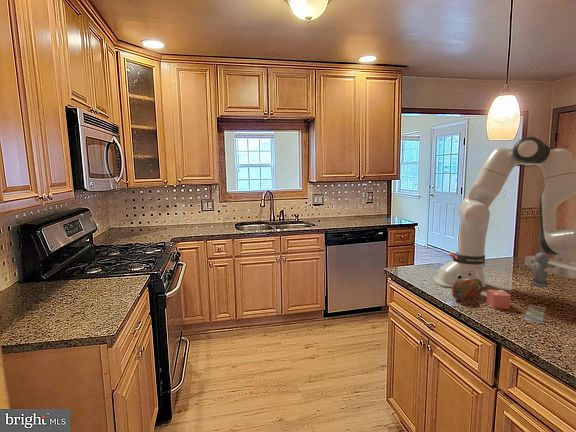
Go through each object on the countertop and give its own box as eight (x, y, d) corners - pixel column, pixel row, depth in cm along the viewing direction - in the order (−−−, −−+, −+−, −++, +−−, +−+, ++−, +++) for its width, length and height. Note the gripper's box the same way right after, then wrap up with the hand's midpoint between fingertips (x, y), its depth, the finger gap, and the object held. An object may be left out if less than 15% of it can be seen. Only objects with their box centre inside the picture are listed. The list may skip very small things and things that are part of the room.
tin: (456, 302, 141) (457, 282, 140) (449, 300, 144) (451, 280, 142) (482, 297, 147) (483, 277, 146) (475, 294, 150) (477, 275, 148)
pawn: (535, 287, 128) (539, 254, 126) (528, 282, 133) (531, 250, 131) (551, 287, 127) (554, 254, 125) (542, 282, 132) (546, 251, 130)
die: (492, 310, 133) (494, 294, 132) (486, 304, 139) (487, 289, 138) (509, 310, 132) (511, 295, 132) (502, 304, 138) (503, 290, 137)
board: (519, 303, 139) (519, 301, 139) (556, 311, 132) (557, 309, 132) (512, 319, 125) (512, 317, 125) (554, 329, 117) (554, 327, 117)
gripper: (539, 250, 142) (514, 253, 138) (597, 264, 123) (569, 267, 119) (538, 265, 143) (512, 269, 139) (595, 281, 124) (567, 285, 120)
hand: (539, 268), depth 129 cm, fingers closed on pawn, 4 cm apart
